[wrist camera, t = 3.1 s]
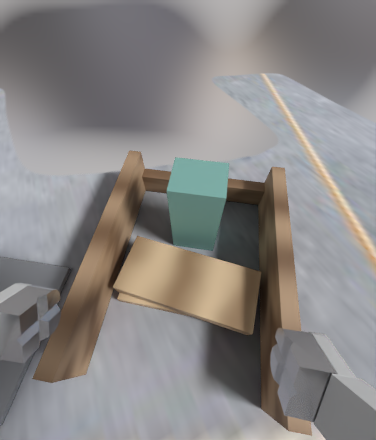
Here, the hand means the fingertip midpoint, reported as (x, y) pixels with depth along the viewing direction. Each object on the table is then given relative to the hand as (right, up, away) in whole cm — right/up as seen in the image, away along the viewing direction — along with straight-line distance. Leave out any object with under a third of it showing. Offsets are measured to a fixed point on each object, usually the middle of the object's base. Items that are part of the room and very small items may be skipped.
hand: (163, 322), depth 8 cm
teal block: (+2, +2, +20) cm, 21 cm away
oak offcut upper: (+1, -3, +16) cm, 16 cm away
